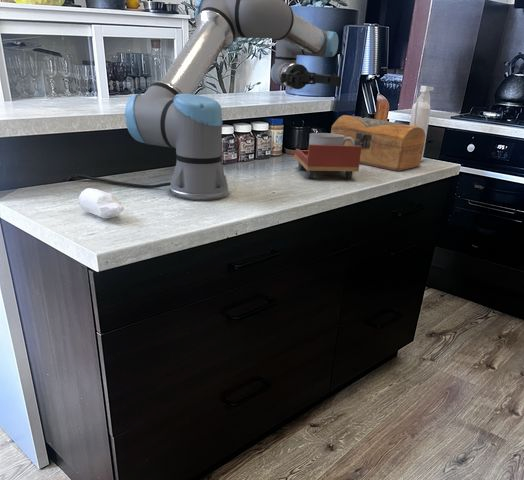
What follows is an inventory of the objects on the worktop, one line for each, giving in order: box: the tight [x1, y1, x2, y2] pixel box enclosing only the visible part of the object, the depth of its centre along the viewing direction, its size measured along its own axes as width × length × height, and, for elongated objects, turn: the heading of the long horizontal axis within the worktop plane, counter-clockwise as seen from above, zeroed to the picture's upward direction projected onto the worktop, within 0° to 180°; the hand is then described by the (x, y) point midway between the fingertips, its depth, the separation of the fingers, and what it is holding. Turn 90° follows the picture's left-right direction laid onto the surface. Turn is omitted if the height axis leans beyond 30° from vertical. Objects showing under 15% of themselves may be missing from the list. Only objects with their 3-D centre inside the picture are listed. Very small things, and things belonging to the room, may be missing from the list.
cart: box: [294, 144, 362, 180], centre depth 165 cm, size 16×19×10 cm
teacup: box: [308, 132, 354, 146], centre depth 162 cm, size 14×11×8 cm
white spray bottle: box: [409, 85, 435, 162], centre depth 188 cm, size 7×12×25 cm, turn 140°
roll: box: [78, 187, 125, 219], centre depth 116 cm, size 6×12×6 cm, turn 48°
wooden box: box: [330, 114, 426, 172], centre depth 185 cm, size 30×16×14 cm, turn 46°
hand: (320, 81), depth 162 cm, fingers open, 13 cm apart
